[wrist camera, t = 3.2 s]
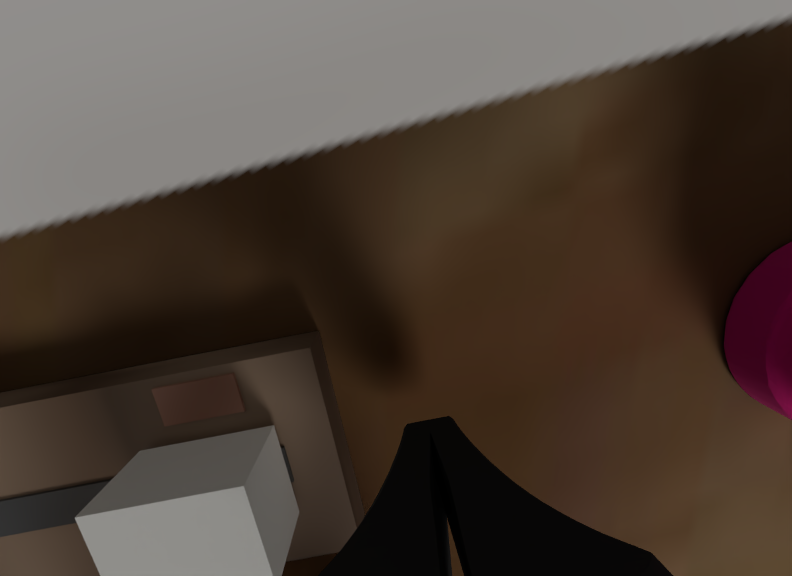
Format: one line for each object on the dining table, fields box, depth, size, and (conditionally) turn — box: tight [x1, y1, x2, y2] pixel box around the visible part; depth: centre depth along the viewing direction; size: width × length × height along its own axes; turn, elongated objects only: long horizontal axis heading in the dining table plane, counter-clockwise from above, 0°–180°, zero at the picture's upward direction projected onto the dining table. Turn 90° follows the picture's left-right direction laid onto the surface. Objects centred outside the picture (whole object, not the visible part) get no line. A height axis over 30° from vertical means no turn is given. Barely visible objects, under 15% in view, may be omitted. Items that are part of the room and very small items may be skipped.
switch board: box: [0, 331, 364, 576], centre depth 13 cm, size 16×7×2 cm, turn 101°
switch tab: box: [75, 425, 299, 576], centre depth 11 cm, size 4×3×2 cm
